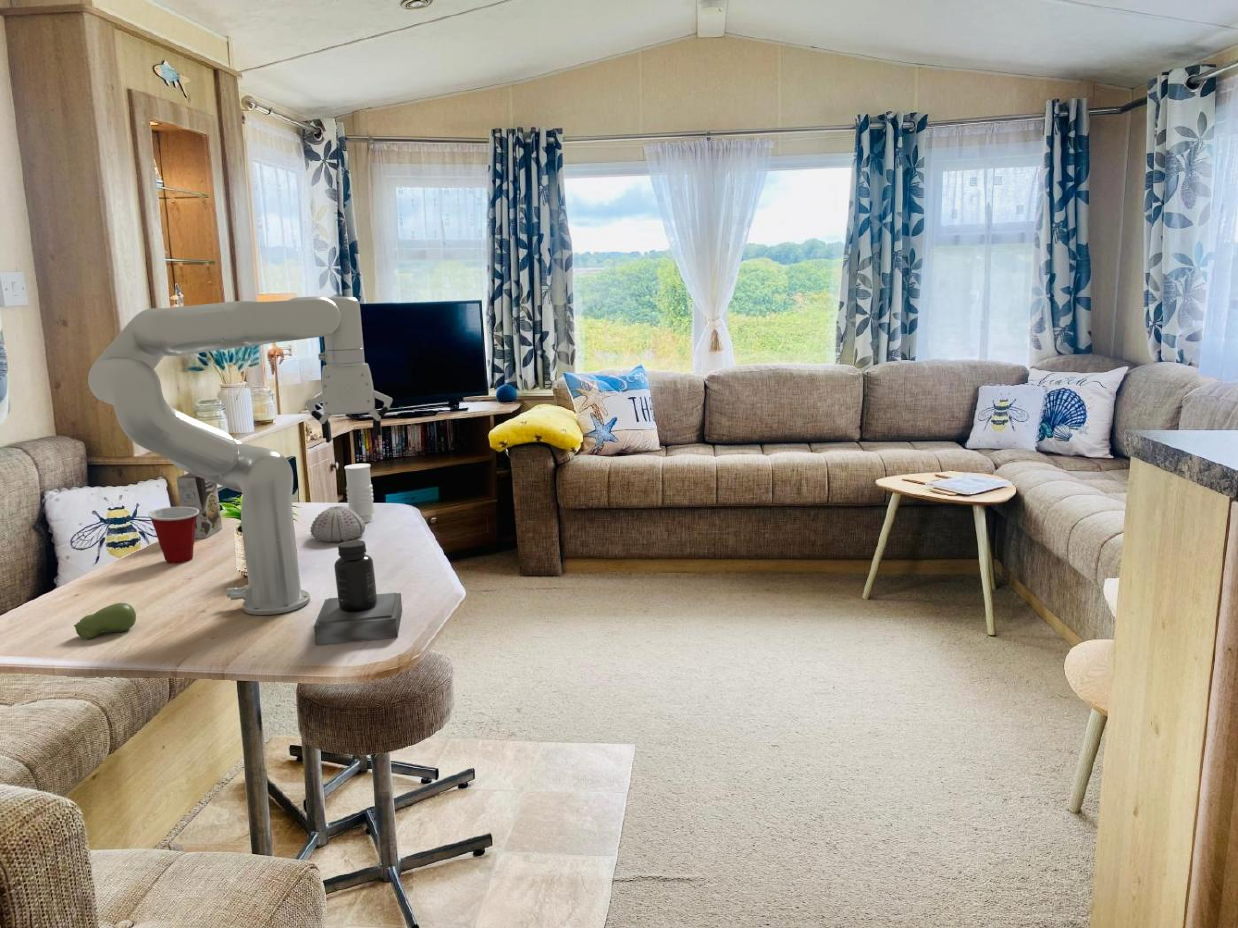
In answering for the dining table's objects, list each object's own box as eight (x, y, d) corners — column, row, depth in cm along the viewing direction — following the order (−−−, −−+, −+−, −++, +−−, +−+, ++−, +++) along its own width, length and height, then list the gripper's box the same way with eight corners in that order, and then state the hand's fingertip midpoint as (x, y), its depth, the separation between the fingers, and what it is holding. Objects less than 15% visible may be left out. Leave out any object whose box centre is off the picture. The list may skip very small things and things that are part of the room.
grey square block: (315, 645, 160) (313, 623, 159) (327, 617, 173) (325, 597, 172) (397, 637, 162) (395, 616, 161) (402, 610, 176) (400, 590, 175)
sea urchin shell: (326, 530, 237) (323, 500, 235) (375, 530, 235) (372, 500, 233) (301, 545, 224) (298, 513, 222) (353, 545, 222) (350, 513, 221)
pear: (130, 604, 168) (70, 623, 164) (139, 629, 169) (80, 649, 165) (130, 595, 172) (71, 613, 168) (139, 620, 174) (81, 639, 170)
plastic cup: (186, 567, 208) (180, 517, 206) (144, 566, 210) (137, 516, 208) (215, 553, 219) (209, 505, 216) (174, 553, 220) (168, 504, 218)
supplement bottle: (365, 597, 172) (359, 536, 169) (384, 605, 167) (378, 542, 165) (331, 607, 167) (325, 544, 165) (350, 615, 162) (343, 551, 160)
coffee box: (207, 538, 233) (200, 476, 230) (183, 539, 233) (174, 477, 230) (223, 528, 242) (216, 469, 239) (199, 529, 242) (192, 470, 239)
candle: (344, 523, 243) (339, 468, 240) (356, 517, 250) (351, 463, 247) (368, 523, 242) (363, 468, 239) (379, 517, 248) (375, 463, 246)
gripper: (298, 361, 181) (306, 446, 184) (387, 357, 184) (394, 440, 187) (304, 358, 188) (312, 440, 192) (390, 354, 191) (396, 435, 194)
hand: (352, 440), depth 189 cm, fingers open, 9 cm apart
